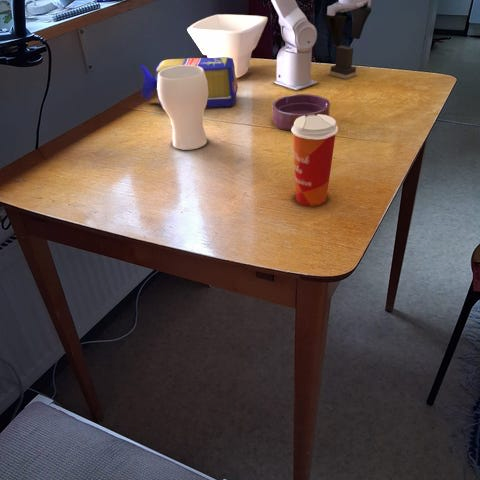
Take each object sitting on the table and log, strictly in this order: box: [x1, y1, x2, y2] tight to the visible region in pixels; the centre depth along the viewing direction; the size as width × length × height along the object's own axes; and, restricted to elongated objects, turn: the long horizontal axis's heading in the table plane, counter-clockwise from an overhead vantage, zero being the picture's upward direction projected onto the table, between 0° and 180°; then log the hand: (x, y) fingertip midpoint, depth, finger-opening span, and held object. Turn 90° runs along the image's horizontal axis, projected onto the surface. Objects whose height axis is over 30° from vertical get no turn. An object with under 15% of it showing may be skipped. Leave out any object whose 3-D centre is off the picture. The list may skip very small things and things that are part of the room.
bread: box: [139, 57, 239, 110], centre depth 125 cm, size 10×25×10 cm, turn 85°
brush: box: [329, 44, 357, 80], centre depth 136 cm, size 6×4×7 cm, turn 38°
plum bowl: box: [271, 93, 331, 132], centre depth 114 cm, size 13×13×4 cm
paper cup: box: [290, 114, 339, 207], centre depth 84 cm, size 8×8×14 cm
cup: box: [156, 65, 208, 151], centre depth 104 cm, size 11×11×15 cm
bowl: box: [187, 13, 269, 79], centre depth 138 cm, size 19×19×14 cm
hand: (346, 41), depth 132 cm, fingers open, 7 cm apart
